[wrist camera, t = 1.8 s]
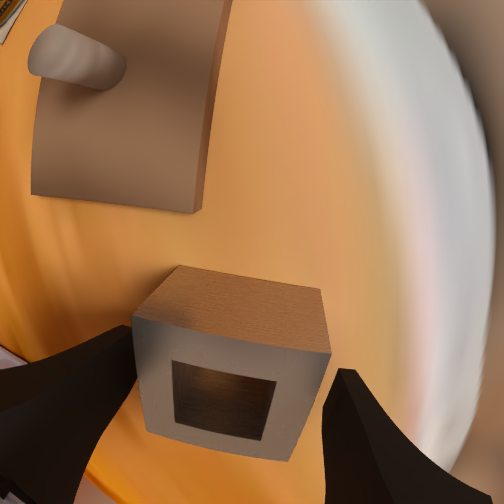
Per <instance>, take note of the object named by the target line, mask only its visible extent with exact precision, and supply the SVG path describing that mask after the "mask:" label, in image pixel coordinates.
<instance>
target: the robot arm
mask: <svg viewBox="0 0 504 504" xmlns="http://www.w3.org/2000/svg"><path fill="white" fill-rule="evenodd" d="M136 379H137V370H136V362H135V353H134V344H133V334H132V328H131V327H128V326H125V325H120V326H118V327H115V328H113V329H111V330H109V331H107V332H105V333H103V334H101V335H98V336H96V337H94V338H92V339H90V340H88V341H86V342H84V343H82V344H80V345H77V346H75V347H73V348H70V349H68V350H66V351H63V352H61V353H58V354H56V355H54V356H51V357H48V358H45V359H42V360H39V361H36V362H32V363H29V364H28V363H27V362H25V361H23V360H22V359H20V358H18V357H17V356H15V355H13V354H12V353H10V352H9V351H7V350H5V349H4V348H2V347H1V346H0V504H73V503H74V499H75V496H76V493H77V490H78V487H79V484H80V481H81V479H82V476H83V473H84V471H85V469H86V466H87V464H88V462H89V459H90V457H91V455H92V453H93V451H94V449H95V447H96V445H97V442H98V440H99V439H100V437H101V435H102V434H103V432H104V430H105V429H106V427H107V426H108V424H109V423H110V421H111V420H112V418H113V417H114V415H115V414H116V413H117V411H118V410H119V408H120V407H121V405H122V404H123V402H124V401H125V399H126V398H127V396H128V394H129V393H130V391H131V389H132V387H133V385H134V383H135V381H136ZM322 443H323V455H324V468H325V482H326V494H325V504H493V502H492V499H491V496H489V495H487V494H485V493H483V492H481V491H478V490H476V489H474V488H472V487H470V486H468V485H466V484H465V483H463V482H461V481H460V480H458V479H456V478H455V477H453V476H452V475H450V474H449V473H447V472H446V471H444V470H443V469H442V468H440V467H439V466H438V465H437V464H435V463H434V462H433V461H431V460H430V459H429V458H428V457H427V456H426V455H424V454H423V453H422V452H421V451H420V450H419V449H418V448H417V447H416V446H415V445H414V444H413V443H412V442H411V441H410V440H409V439H408V438H407V437H406V436H405V435H404V434H403V433H402V432H401V430H400V429H399V428H398V427H397V426H396V425H395V423H394V422H393V421H392V420H391V419H390V417H389V416H388V415H387V414H386V412H385V411H384V410H383V408H382V407H381V406H380V404H379V403H378V401H377V400H376V399H375V397H374V396H373V394H372V393H371V392H370V390H369V389H368V387H367V386H366V384H365V383H364V381H363V380H362V379H361V377H360V376H359V374H358V373H357V371H356V370H353V369H343V368H338V371H337V374H336V376H335V379H334V381H333V384H332V386H331V389H330V391H329V394H328V396H327V398H326V401H325V403H324V405H323V411H322Z"/></svg>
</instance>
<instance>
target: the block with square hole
mask: <svg viewBox="0 0 504 504" xmlns="http://www.w3.org/2000/svg"><path fill="white" fill-rule="evenodd" d="M131 322H132V334H133V344H134V353H135V362H136V370H137V377H138V384H139V391H140V397H141V403H142V409H143V415H144V420H145V425H146V430H147V431H148V432H151V433H154V434H157V435H160V436H163V437H167V438H170V439H173V440H177V441H181V442H184V443H188V444H192V445H196V446H200V447H204V448H208V449H212V450H217V451H222V452H227V453H232V454H237V455H243V456H249V457H255V458H262V459H269V460H277V461H286V462H288V461H289V459H290V457H291V455H292V452H293V450H294V448H295V446H296V444H297V441H298V439H299V437H300V434H301V432H302V430H303V427H304V425H305V423H306V420H307V418H308V416H309V413H310V411H311V408H312V406H313V403H314V401H315V398H316V395H317V393H318V390H319V388H320V385H321V382H322V380H323V377H324V374H325V371H326V368H327V366H328V363H329V360H330V357H331V354H332V353H331V347H330V341H329V335H328V329H327V324H326V318H325V313H324V307H323V302H322V297H321V291H320V289H314V288H308V287H302V286H296V285H289V284H283V283H277V282H271V281H265V280H259V279H254V278H248V277H242V276H236V275H231V274H225V273H219V272H214V271H208V270H203V269H197V268H192V267H186V266H181V265H180V266H178V267H177V268H176V269H175V270H174V271H173V272H172V273H171V274H170V275H169V276H168V277H167V278H166V279H165V280H164V281H163V282H162V283H161V285H160V286H159V287H158V288H157V289H156V290H155V291H154V292H153V293H152V294H151V295H150V296H149V297H148V298H147V299H146V300H145V301H144V302H143V303H142V304H141V305H140V306H139V307H138V308H137V309H136V310H135V311H134V312H133V313H132V314H131Z"/></svg>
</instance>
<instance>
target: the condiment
mask: <svg viewBox="0 0 504 504" xmlns="http://www.w3.org/2000/svg"><path fill="white" fill-rule="evenodd" d="M26 2H27V0H0V43H1V44H2V43H3V41H4V39H5V38H6V35H7V34H8V32H9V30H10V28H11V26H12V25H13V23H14V21H15V19H16V18H17V17H18V15H19V13H20V11H21V10H22V8H23V6H24V5H25V3H26Z"/></svg>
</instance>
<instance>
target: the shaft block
mask: <svg viewBox="0 0 504 504" xmlns="http://www.w3.org/2000/svg"><path fill="white" fill-rule="evenodd" d="M231 5H232V0H64V1H63V4H62V6H61V9H60V12H59V15H58V18H57V21H56V24H55V25H52V26H49V27H48V28H46V29H45V30H44V31H43V32H42V33H41V34H40V35H39V36H38V37H37V39H36V40H35V42H34V44H33V45H32V48H31V50H30V53H29V56H28V69H29V72H30V73H31V74H33V75H36V76H41V77H42V78H41V83H40V89H39V95H38V101H37V107H36V115H35V123H34V133H33V144H32V161H31V195H39V196H49V197H59V198H69V199H78V200H87V201H96V202H104V203H113V204H121V205H129V206H137V207H145V208H153V209H160V210H168V211H175V212H182V213H190V214H194V213H195V212H197V211H199V210H201V209H202V200H203V190H204V181H205V171H206V163H207V154H208V146H209V138H210V130H211V123H212V116H213V109H214V102H215V95H216V88H217V82H218V76H219V70H220V64H221V58H222V52H223V46H224V41H225V35H226V30H227V25H228V20H229V14H230V10H231Z"/></svg>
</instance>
